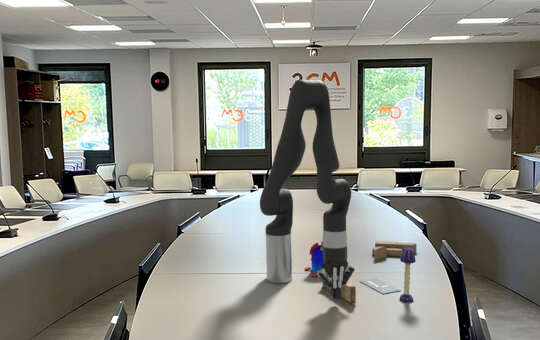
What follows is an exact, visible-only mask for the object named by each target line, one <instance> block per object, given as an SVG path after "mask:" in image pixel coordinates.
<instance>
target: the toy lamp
mask: <svg viewBox="0 0 540 340" xmlns="http://www.w3.org/2000/svg"><path fill="white" fill-rule="evenodd" d="M399 258H400V262H401V263H404V281H403V289H404V290H403V293H402V294H401V295H400V296H399V301H401V302H404V303H412V302H414V297H413V296H412V295H411V294H410V284H411V282H410V280H411V277H410V276H411V264H414V263H416V256H415V254H414V251H413V249H412V248H404V249H403V252H402V255H401V257H399Z"/></svg>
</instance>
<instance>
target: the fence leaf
mask: <svg viewBox="0 0 540 340" xmlns="http://www.w3.org/2000/svg"><path fill="white" fill-rule="evenodd" d="M356 290H357V287H356V285H352V284H350V283H348V282H347V283H346V284H345V285H342V286H341V296H340V298H342V299H343V300H346V301H348V302H349V303H350V304H352V305H355V304H357V301H356V300H357V296H356V295H357V291H356Z"/></svg>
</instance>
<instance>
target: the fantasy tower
mask: <svg viewBox="0 0 540 340" xmlns="http://www.w3.org/2000/svg"><path fill="white" fill-rule="evenodd" d="M320 243H321V244H319V242H315V243H314V244H312V245H311V247H310V249H309V255H310V256H311V258H310V260H311V267H305V268H304V269H303V271H304V270H305V271H304V272H308V273H309V272H310V273H311V274H310V273H309V274H310V275H311V278H315V279H317V278H319V277H318V276H317V274H316V271H320V270H321V269H322V264H323V240H322V241H321V242H320ZM310 269H311V270H310Z"/></svg>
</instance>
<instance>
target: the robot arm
mask: <svg viewBox="0 0 540 340" xmlns="http://www.w3.org/2000/svg"><path fill="white" fill-rule="evenodd" d="M329 93H330V92H329V89H328V86H327V84H326V83H325V82H324V81H323V80H319V79H299V80H296V81H295V82H294V83H293V84H292V86H291V90H290V93H289V96H288V101H287V102H288V103H287V106H286V107H287V108H286V112H285V119H284V122H283V126H282V130H281V134H280V138H279V140H278V142H277V147H276V151H275V154H274V157H273V162H272V165H271V168H270V171H269V175H268V177H267V179H266V182H265V184H264V187H263V189H262V192H261V194H260V199H259V209H260V212H261V213H262V214H263V215H264V216H267V217H269V216H270V217H271V216H275V218H274V219H273V220H272V221H270V222H269V223H268V224H266V226H265V252H266V253H265V254H266V262H265V263H266V281H267V282H269V283H272V284H284V283H285V284H286V283H290V282H291V281H292V280H293V261H292V260H293V257H292V252H293V251H292V227H293V223H294V222H293V221H294V220H293V219H294V218H293V216H294V215H293V214H294V198H293V196H292V195H293V194H292V192H291V191H290V190H289V189H287V188H282V187H283V186H284V185H285V183H286V182H287V180H289V178H290V177H291V176H292V175H293V174H295V172H296V171H297V170H298V168H299V167H300V166H301V163H302V161H303V157H304V154H305V151H306V148H307V147H306V146H307V145H306V140H305V139H306V138H305V136H304V133H303V130H302V121H303V117H304V115H305V111H306V110H313V111H314V113H315V118H316V128H315V132H314V135H313V138H312V139H313V140H312V154H313V159H314V162H315V166H316V194H317V197H318V199H319V200H320V201H321V202H322V203H323V204H325V205H326V204H327V205H329V204H332V205H331V208H329V209H328V210H325V212H324V213H323V216H322V230H323V231H322V241H323V264H322V269H321V270H320V271H316V274H317V276H318V278H319V279H320V280H321V281H322V284H323V283H324V284H325V285H327V286H328V287H330V288H331V292H330V297H331V298H332V299H333V300H336V301H337V300H340V298H341V286H342V285H345V284H346V283H348V281H349V280H350V279H351V276H352V275H353V273H354V272H355V267H353V266H351V265H350V264H349V262H348V260H347V259H348V234H347V215H348V212H349V206H350V202H351V199H352V187H351V185H350V183H349V182H348V181H347V180H346V179H344V178H337V179H333V173H334V172H336V171H338V170H339V169H340V161H339V158H338V153H337V150H336V145H335V140H334V135H333V124H332V114H331V112H332V111H331V100H330V94H329ZM325 272H326V273H327V275H328V278H329V281H328V279H327V278H326V277H325Z"/></svg>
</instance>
